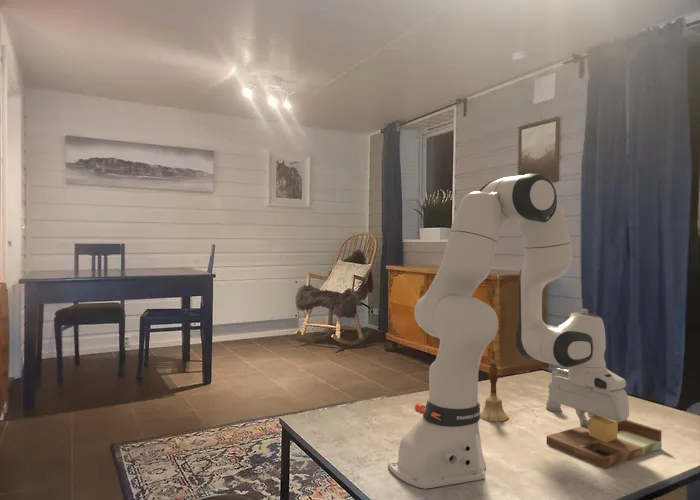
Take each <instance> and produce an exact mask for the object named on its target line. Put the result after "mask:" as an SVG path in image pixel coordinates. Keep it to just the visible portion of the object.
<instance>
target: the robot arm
mask: <svg viewBox="0 0 700 500" xmlns="http://www.w3.org/2000/svg"><path fill="white" fill-rule="evenodd" d="M564 212H565V211H564V209H563V208H562V206H561V205H560V204H559V203H558V196H557V191H556V187H555V186H554V183H553V182H552V181H551V179H550V178H549V177H548V176H546V175H543V174H541V173H540V174H539V173H526V174H524V175H523V174H522V175H521V174H519V175H509V176H505V177H501V178H499V179H496V180H494V179H493V180H490V181H488V182H487V183H485V184H484V185H482V186H481V187H479V189H478V190H477V191H472V192H469V193H468V194H466V195H465V196H464V197H462V199H461V201H460V203H459V206H458V208H457V210H456V212H455V214H454V217H453V218H454V219H453V221H452V223H451V227H450V230H449V235H448V239H447V242H446V246H445V250H444V253H443V257H442V260H441V262H440V263H441V264H440V265H439V268H438V270H437V273H436V274H435V276H434V279H433V280H432V282H431V284H430V286H429V287H428V289H427V291H426V292H425V294H423V295H422V296H421V297H420V298H419V299H418V301H417V302H416V304H415V306H414V310H413V316H414V320H415V322H416V324H417V325H418V326H419V327H420V328H421V329H422V330H423V331H424V332H425V333H426V334H427V335H429V336H432V337H434V338H437V339H439V347H438V351H437V355H436V358H435V360H434V361H433V362H432V363H431V364H430V366H429V368H428V389H429V391H428V392H429V393H428V395H429V396H428V399H427V401H426V404H425V405H423V404H421V403H419V402H417V403H415V406H414V408H413V409H414V411H415V412H416V413H419V414H420V415H422V418H421V419H420V420H419V421H418V422H417V423H416V425H414V426H413V427H412V428H411V429H410V430H409V431H408V432H407V433H406V434H405V435H404V436H403V437H402V438H401V439H400V443H399V447H398V455H397V456H395V457H392V458H390V459H389V460H388V464H387V465H388V466H387V467H388V469H389V470H390V472H391V473H392V474H393V475H395V476H396V477H397V478H398V479H400V480H402V481H403V482H405V483H407V484H409V485H411V486H413V487H417V488H421V489H424V490H425V489H432V488H437V487H438V488H440V487H444V486H450V485H456V484H462V483H468V482H474V481H480V480H483V479H485V478H486V473H485V469H486V465H487V464H486V462H485V458H484V457H485V456H484V454H483V449H482V442H481V435H480V427H479V426H480V425H479V421H480V419H481V418H480V413H481V405H480V402H479V393H478V392H479V371H480V370H479V369H480V364H481V360H482V356H483V354H484V351H485V349H486V348H487V346H488V345H489V344H491V342H492V341H493V340H494V339H495V337H496V335H497V333H498V331H499V318H498V315H497V313H496V311H495V309H494V308H493V307H492V306H491V305H489V304H488V303H486V302H484V301H482V300H481V299H478V298H477V297H472V296H473V295H474V294H475V291H476V289H477V288H478V287H479V285H481V283H482V282H483V281H485V280H486V279H488V277H489V275H490V273H491V269H492V263H493V261H494V255H495V252H496V248H497V244H498V239H499V234H500V229H501V226H502V225H503V223H504V222H509V223H517V224H518V225H519V227H520V229H521V233H522V244H523V245H522V247H523V265H522V267H521V269H520V271H519V274H518V286H517V288H518V292H517V293H518V297H517V299H518V301H517V302H518V307H517V308H518V309H517V310H518V322H517V329H516V335H515V344H516V349H517V350H518V352H519V354H521V356H523V357H524V358H526V359H528V360H532V361H537V362H538V361H540V362H543V363H547V364H549V365H554V366H557V368H555V369H554V370H552V371H551V381H550V384H551V388H550V398H551V400H552V401H553V402H556V403H559V404H561V406H562V405H563V406H565V407H568V408H569V407H570V408H572V409H575V412H576V413H575V414H576V415H577V418H578V419H579V421H580V423H579V424H580V426H581V427H583V428H586V429H588V430H589V429H590V418H591V417H595V416H600V417H603V418H607V419H610V420H613V421H616V422H621V421H624V420H628V418H629V416H630V405H629V397H628V394H627V392H626V390H625V389H624V388H626V387H627V381H626V379H625V378H623V377H621V376H620V375H617V374H616V373H614V372H612V371H611V370H609V369H608V368H607V365H606V361H605V351H606V349H607V348H606V346H607V345H606V341H607V340H606V330H605V324H604V320H603V319H602V317H601V316H599V315H597V314H592V313H588V314H587V313H581V312H580V311H574V312H570V315H569V318H567V320H566V321H564V322H562V323H561V324H559V325H557V326H556V325H549V324H547V323H545V322H544V320H543V291H544V289H545V287H546V285H548V284H549V283H551V282H553V281H556V280H557V279H559V278H561V277H562V276H564V275H565V274H566V273H568V271H569V269H570V268H571V265H572V263H573V262H572V261H573V247H572V242H571V235H570V230H569V225H568V222H567V219H566V216H565V213H564ZM558 367H559V368H558ZM560 367H562V368H560ZM563 368H567V369H563ZM586 413H587V416H586ZM587 417H588V419H587ZM580 426H579V427H580Z"/></svg>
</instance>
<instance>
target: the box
mask: <svg viewBox="0 0 700 500" xmlns="http://www.w3.org/2000/svg"><path fill="white" fill-rule="evenodd" d="M546 444H547V445H549V446H551V447H553V448H556V449H558V450H561V451H563V452H566V453H568V454H570V455H573V456H575V457H578V458H580V459H582V460H585V461H587V462H590V463H593V464H594V465H597V466H600V467H602V468H604V469H609V468H612V467H615V466H618V465H620V464H623V463H626V462H628V461H631V460H633V459H637V458H640V457H642V456H645V455H648V454H650V453H653V452H657V451H659V450H662V445H663V444H662V429H657V428H654V427H651V426H648V425H644V424H642V423H638V422H634V421H632V420H629V419H626V420H624V421H621V422H618V432H617V439H615V440H612V441H609V442H604V441H601V440H599V439H597V438H594V437H592V436H590V435H589V430H588V429H586V428H583V427H581V426H577V427H574V428H570V429H566V430H562V431H560V432H556V433H551V434H549V435H546Z"/></svg>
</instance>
